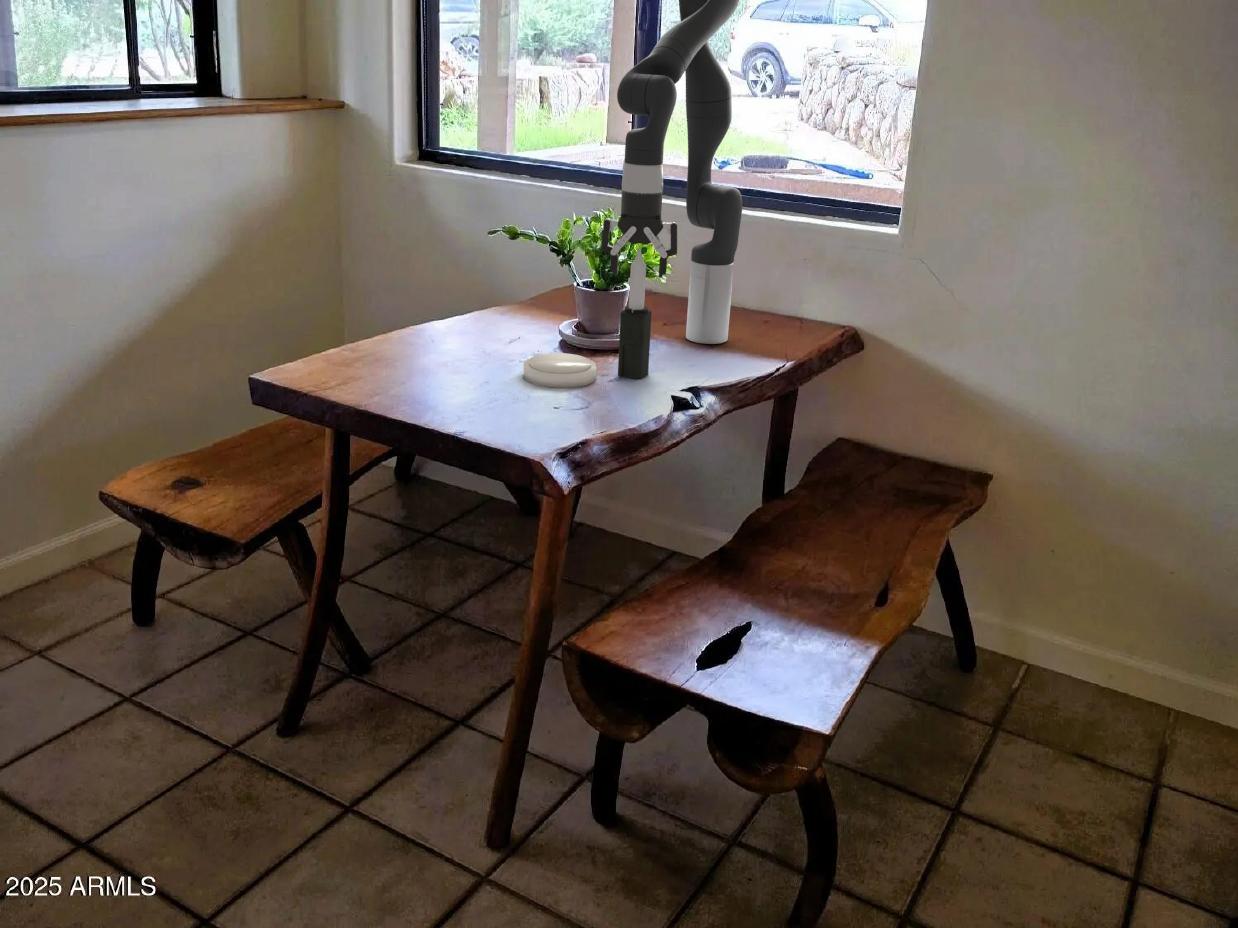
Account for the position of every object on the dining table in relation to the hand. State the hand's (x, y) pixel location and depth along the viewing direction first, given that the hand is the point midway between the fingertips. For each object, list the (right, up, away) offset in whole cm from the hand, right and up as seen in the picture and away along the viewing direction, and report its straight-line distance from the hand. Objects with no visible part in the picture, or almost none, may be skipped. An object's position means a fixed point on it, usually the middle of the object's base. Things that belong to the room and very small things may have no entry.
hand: (637, 275), depth 213 cm
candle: (-1, -18, +7) cm, 20 cm away
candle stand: (-15, -19, +4) cm, 24 cm away
